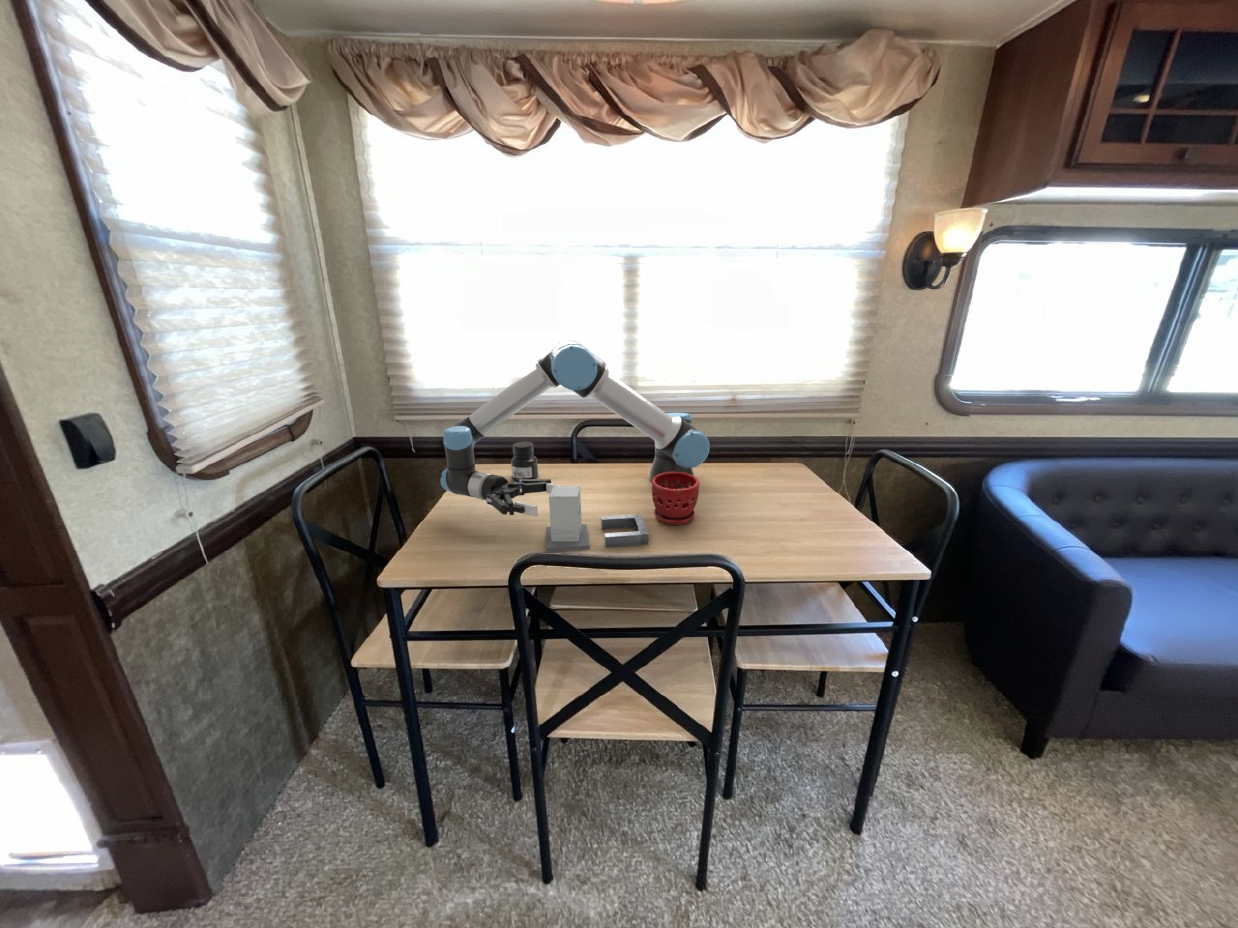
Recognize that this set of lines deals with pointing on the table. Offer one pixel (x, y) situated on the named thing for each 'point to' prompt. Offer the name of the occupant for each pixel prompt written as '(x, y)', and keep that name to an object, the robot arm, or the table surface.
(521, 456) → the ink bottle
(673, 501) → the plant pot
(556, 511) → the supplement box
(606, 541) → the grey piece
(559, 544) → the mat
